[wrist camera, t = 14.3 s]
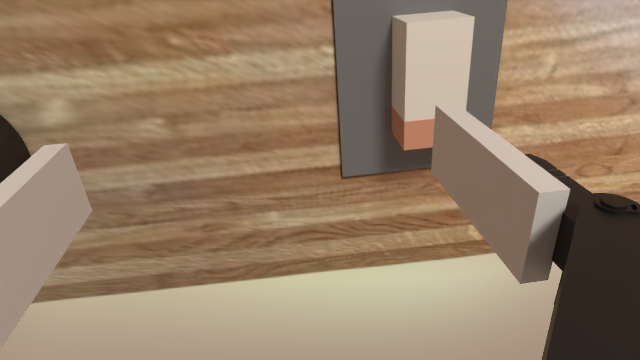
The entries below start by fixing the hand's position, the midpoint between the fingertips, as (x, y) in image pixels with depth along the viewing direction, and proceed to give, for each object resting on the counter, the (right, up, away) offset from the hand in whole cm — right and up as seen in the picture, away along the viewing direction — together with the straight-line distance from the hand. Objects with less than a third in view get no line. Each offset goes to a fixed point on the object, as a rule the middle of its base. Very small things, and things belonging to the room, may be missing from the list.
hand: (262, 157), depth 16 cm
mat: (+12, +10, +29) cm, 33 cm away
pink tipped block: (+13, +10, +28) cm, 33 cm away
